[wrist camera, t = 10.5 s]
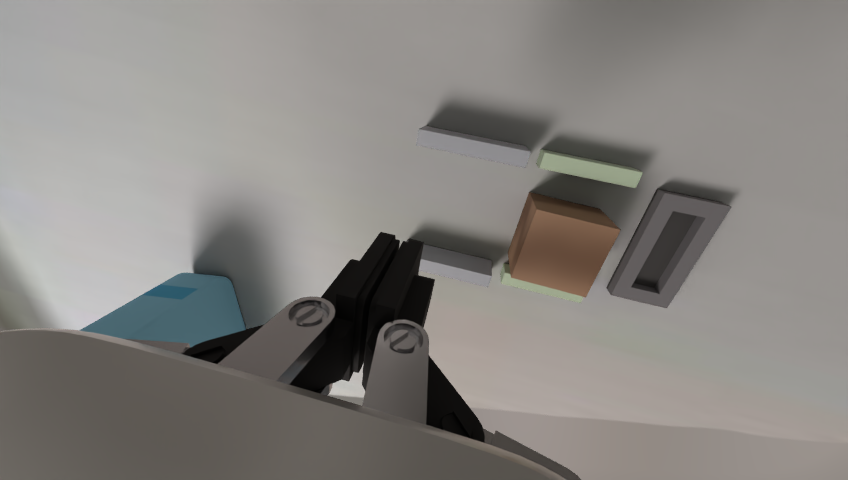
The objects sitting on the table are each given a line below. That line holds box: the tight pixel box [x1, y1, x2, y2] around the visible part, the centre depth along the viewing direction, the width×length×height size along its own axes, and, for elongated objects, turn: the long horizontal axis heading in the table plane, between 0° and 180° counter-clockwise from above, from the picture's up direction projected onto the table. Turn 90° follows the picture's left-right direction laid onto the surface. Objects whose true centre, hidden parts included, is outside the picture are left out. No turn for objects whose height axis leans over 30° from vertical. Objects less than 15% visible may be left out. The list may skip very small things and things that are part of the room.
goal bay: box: [500, 149, 643, 303], centre depth 22 cm, size 10×6×2 cm, turn 170°
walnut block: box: [508, 192, 620, 297], centre depth 22 cm, size 5×5×4 cm
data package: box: [80, 273, 246, 347], centre depth 28 cm, size 12×4×12 cm, turn 0°
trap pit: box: [607, 189, 731, 308], centre depth 22 cm, size 8×4×1 cm, turn 170°
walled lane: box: [406, 126, 530, 287], centre depth 23 cm, size 10×7×2 cm
